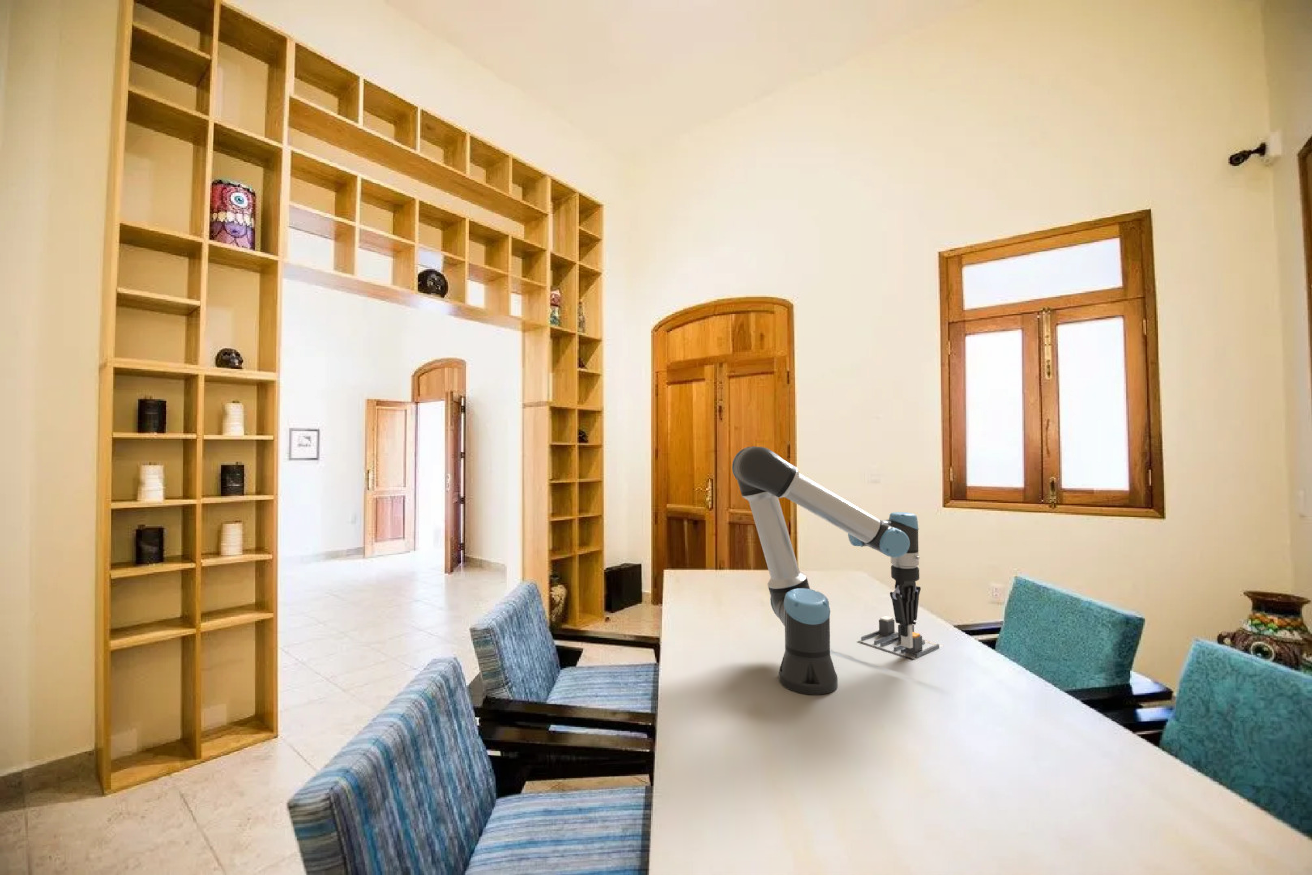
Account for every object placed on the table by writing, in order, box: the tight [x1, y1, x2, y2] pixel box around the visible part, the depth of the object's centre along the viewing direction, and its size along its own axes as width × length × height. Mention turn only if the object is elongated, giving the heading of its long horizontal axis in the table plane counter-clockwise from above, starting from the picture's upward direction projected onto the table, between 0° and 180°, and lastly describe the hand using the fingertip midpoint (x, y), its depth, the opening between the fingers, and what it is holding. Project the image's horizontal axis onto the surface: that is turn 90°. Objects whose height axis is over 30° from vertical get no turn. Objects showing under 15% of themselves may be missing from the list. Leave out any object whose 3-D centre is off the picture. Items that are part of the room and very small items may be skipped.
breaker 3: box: [905, 631, 923, 657], centre depth 157 cm, size 4×3×6 cm
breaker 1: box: [878, 615, 896, 637], centre depth 172 cm, size 4×3×6 cm
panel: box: [856, 629, 944, 661], centre depth 164 cm, size 26×20×2 cm
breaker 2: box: [897, 623, 915, 643], centre depth 166 cm, size 4×3×6 cm
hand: (907, 646), depth 154 cm, fingers closed
